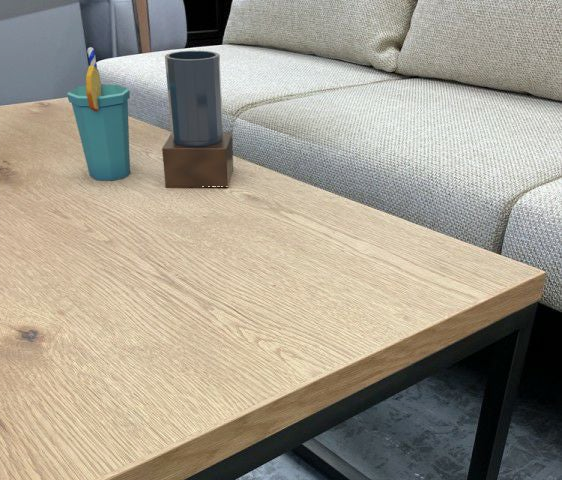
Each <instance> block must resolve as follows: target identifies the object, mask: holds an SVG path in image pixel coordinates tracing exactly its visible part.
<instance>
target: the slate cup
mask: <svg viewBox="0 0 562 480" xmlns="http://www.w3.org/2000/svg"><path fill="white" fill-rule="evenodd" d="M164 64H165V74H166V86H167V99H168V109H169V120H170V134H172V140H173V142H174V143H176V144H179V145H183V146H208V145H213V144H217V143H219V142H221V141H222V140H223V132H224V120H223V115H224V114H223V99H222V98H223V96H222V76H221V75H222V74H221V54H220V53H218V52H215V51H210V50H180V51H173V52H169V53H166V54H165V55H164Z"/></svg>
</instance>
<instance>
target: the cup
mask: <svg viewBox="0 0 562 480" xmlns="http://www.w3.org/2000/svg"><path fill="white" fill-rule="evenodd" d="M86 50H87V51H86V53H87V55H88V60H89V66H88V70H87V72H86V75H85V79H86V81H85V83H86V84H85V85H82V86H77V87H75V88H73V89H71V90H69V91H68V92H67V94H66V96H67V99H68V102H69V103H70V104H71V107H72V110H73V114H74V115H73V116H74V118H75V123H76V126H77V130H78V134H79V138H80V142H81V147H82V151H83V155H84V158H85V162H86V167H87V170H88V174H89V177H91V178H92V179H95V180H96V181H117V180H119V179H120V180H121V179H125V178H127V177H128V175H130V174H131V157H130V156H131V155H130V131H129V130H130V129H129V128H130V127H129V125H130V124H129V99H130V97H131V96H130V91H131V90H130V89H129V88H128V87H126V86H122V85H119V84H102V81H101V77H100V72H99V71H100V70H99V69H98V65H97V64H98V63H97V59H96V52H95V49H94V47H91V46H90V47H88V48H87V49H86Z"/></svg>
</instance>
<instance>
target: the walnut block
mask: <svg viewBox="0 0 562 480" xmlns="http://www.w3.org/2000/svg"><path fill="white" fill-rule="evenodd" d="M233 150H234V149H233V132H232V131H223V140H222V141H221V142H219V143H217V144H213V145H208V146H183V145H179V144H176V143H174V142H173V140H172V134H171V133H170V134H169V136H168V138H167V139H166V141H165V143H164V144H163V146H162V148H161V153H162V163H163V173H164V183H165V188H167V187H202V186H204V187H208V186H210V187H212V186H216V187H217V186H220V187H221V186H223V187H226V186H228V187H229V185H230V182H229V181H231V178H230V177H232V175H231V174H233V171H234V152H233ZM228 184H229V185H228Z"/></svg>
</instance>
